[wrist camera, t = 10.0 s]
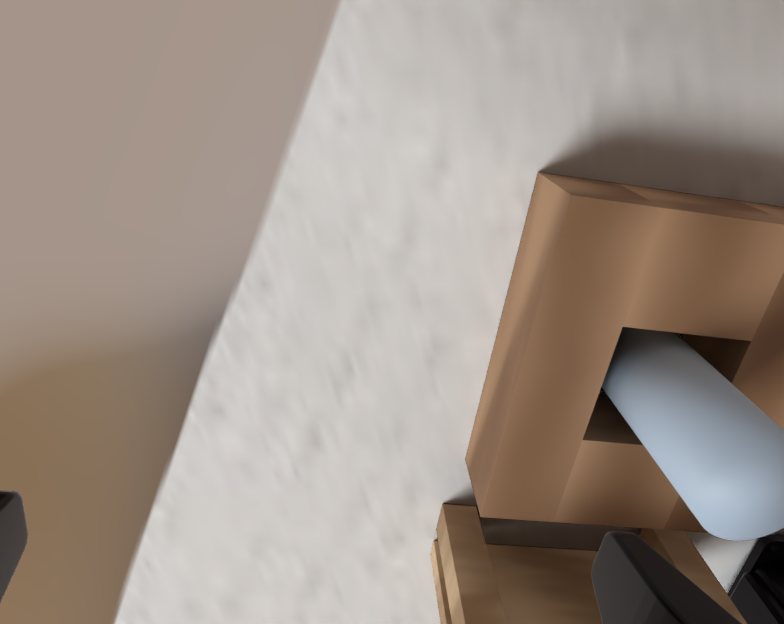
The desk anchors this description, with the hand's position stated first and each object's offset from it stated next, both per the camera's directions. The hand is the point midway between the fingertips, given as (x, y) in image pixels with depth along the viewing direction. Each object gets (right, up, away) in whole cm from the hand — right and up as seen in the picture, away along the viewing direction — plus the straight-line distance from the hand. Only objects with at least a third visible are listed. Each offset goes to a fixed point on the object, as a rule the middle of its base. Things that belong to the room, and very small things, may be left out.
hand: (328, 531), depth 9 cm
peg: (+10, +2, +13) cm, 16 cm away
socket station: (+9, 0, +14) cm, 17 cm away
